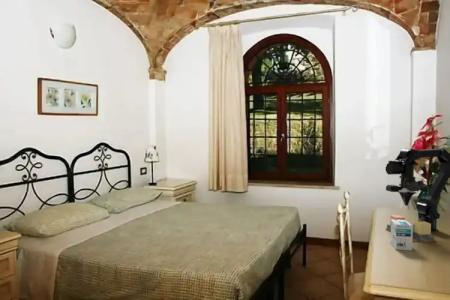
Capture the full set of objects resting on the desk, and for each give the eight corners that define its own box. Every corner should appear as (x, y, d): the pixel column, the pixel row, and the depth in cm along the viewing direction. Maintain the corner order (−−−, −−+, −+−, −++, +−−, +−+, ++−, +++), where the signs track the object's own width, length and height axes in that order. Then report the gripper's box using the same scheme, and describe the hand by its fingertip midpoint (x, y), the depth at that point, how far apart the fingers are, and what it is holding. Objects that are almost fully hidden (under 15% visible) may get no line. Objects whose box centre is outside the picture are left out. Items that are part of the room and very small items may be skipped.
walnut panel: (409, 229, 193) (409, 224, 193) (434, 241, 172) (434, 235, 172) (385, 229, 193) (385, 224, 193) (407, 241, 172) (407, 235, 172)
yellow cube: (424, 231, 178) (424, 221, 178) (430, 234, 173) (430, 224, 173) (414, 231, 178) (414, 221, 178) (420, 234, 173) (420, 224, 173)
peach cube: (399, 224, 191) (399, 215, 191) (404, 227, 186) (405, 217, 186) (390, 224, 190) (390, 215, 190) (395, 227, 186) (395, 217, 185)
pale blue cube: (409, 232, 184) (409, 222, 184) (414, 234, 179) (414, 224, 179) (399, 232, 184) (399, 222, 183) (404, 234, 179) (404, 224, 179)
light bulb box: (412, 251, 158) (413, 225, 158) (395, 250, 160) (396, 224, 159) (406, 243, 169) (406, 219, 168) (389, 242, 170) (390, 218, 170)
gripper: (396, 176, 181) (395, 209, 182) (435, 176, 182) (434, 208, 183) (385, 173, 192) (384, 204, 193) (422, 173, 193) (421, 204, 194)
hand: (406, 205), depth 191 cm, fingers closed
